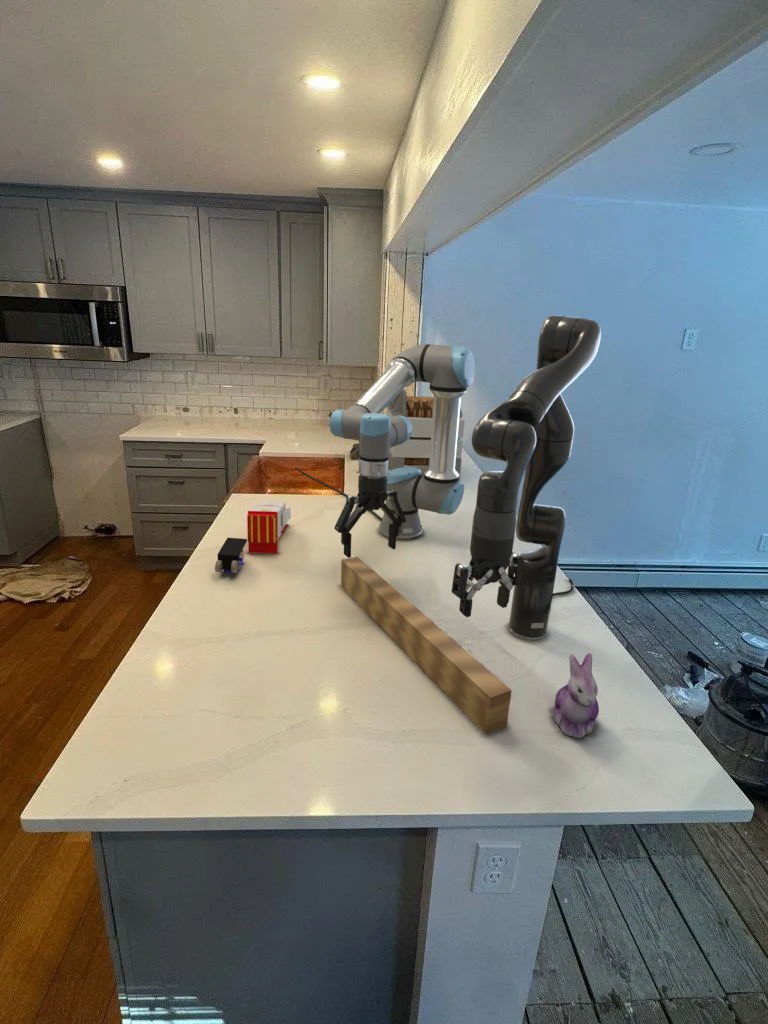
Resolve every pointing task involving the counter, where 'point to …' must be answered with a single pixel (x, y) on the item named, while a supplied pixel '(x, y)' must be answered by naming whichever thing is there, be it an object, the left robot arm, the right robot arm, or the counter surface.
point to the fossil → (355, 451)
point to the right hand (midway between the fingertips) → (484, 610)
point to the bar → (429, 647)
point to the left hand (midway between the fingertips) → (369, 551)
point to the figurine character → (230, 556)
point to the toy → (266, 526)
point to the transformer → (417, 432)
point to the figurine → (577, 700)
